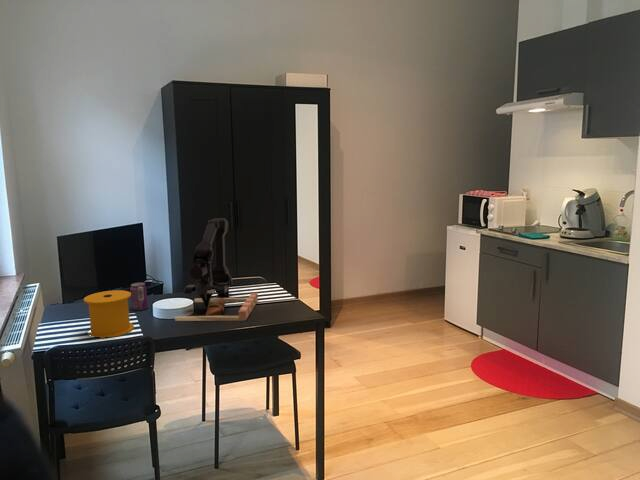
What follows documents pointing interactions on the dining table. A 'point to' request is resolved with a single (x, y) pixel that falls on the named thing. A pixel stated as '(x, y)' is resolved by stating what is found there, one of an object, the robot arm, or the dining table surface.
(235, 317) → the guide channel
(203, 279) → the robot arm
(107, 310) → the spool
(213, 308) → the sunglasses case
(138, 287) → the beverage can
